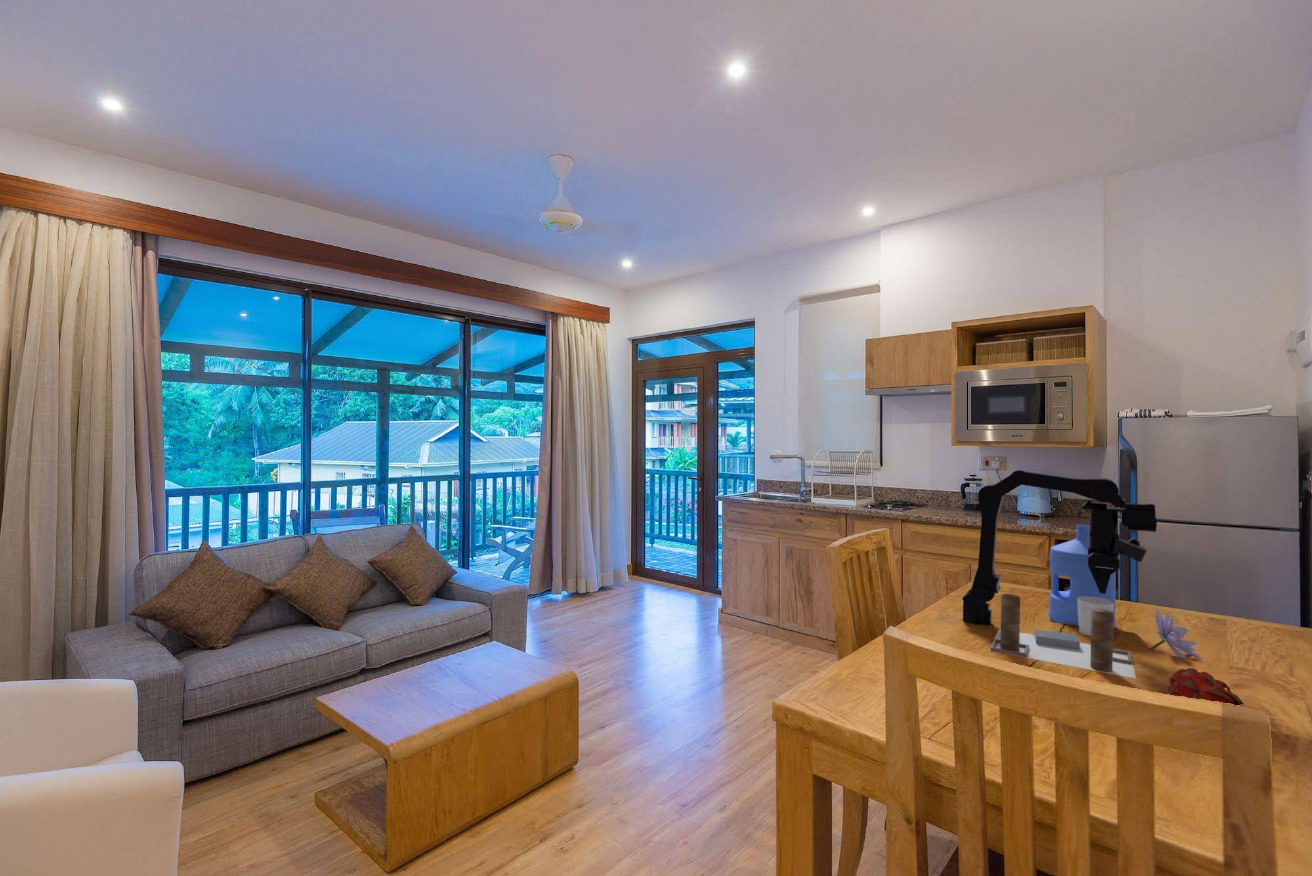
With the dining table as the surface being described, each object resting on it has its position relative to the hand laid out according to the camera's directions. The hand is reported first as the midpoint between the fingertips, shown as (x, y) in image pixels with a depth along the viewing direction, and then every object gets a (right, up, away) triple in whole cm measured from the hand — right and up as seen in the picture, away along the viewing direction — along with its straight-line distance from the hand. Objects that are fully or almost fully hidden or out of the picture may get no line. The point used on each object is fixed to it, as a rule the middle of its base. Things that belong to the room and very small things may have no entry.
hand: (1102, 589), depth 153 cm
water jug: (+9, -15, +20) cm, 26 cm away
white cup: (+3, -15, +7) cm, 17 cm away
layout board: (-15, -15, -6) cm, 22 cm away
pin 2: (-13, -14, -17) cm, 25 cm away
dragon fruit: (-6, -15, -35) cm, 39 cm away
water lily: (+14, -15, -6) cm, 21 cm away
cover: (-12, -13, -1) cm, 18 cm away
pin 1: (-26, -13, -5) cm, 30 cm away
